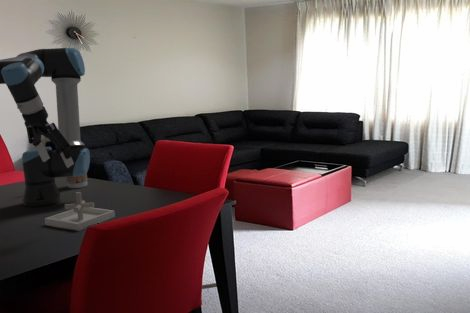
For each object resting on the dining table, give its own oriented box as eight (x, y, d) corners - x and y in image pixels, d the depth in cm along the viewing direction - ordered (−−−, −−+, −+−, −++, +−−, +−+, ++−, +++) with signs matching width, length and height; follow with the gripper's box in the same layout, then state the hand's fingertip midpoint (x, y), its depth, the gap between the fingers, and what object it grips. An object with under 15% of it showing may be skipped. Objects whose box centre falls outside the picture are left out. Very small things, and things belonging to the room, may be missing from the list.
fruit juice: (66, 189, 216) (60, 131, 211) (68, 185, 225) (63, 129, 220) (87, 187, 218) (81, 130, 213) (88, 183, 227) (83, 128, 222)
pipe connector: (70, 216, 167) (67, 190, 165) (97, 214, 168) (95, 188, 166) (62, 224, 157) (59, 196, 156) (91, 222, 158) (89, 195, 157)
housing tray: (45, 225, 160) (44, 218, 159) (82, 212, 174) (82, 206, 174) (78, 231, 151) (78, 223, 151) (115, 217, 166) (114, 210, 165)
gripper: (1, 111, 152) (28, 163, 163) (46, 118, 139) (72, 174, 150) (20, 101, 157) (45, 152, 168) (65, 107, 144) (89, 162, 155)
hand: (58, 162), depth 159 cm, fingers open, 13 cm apart
